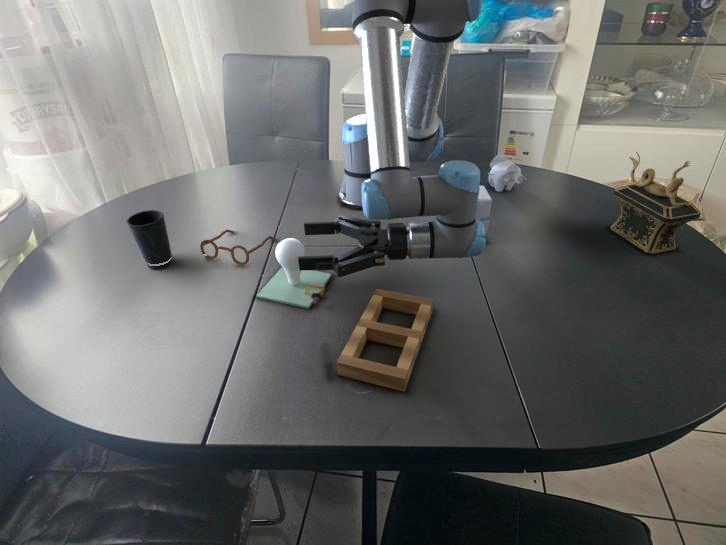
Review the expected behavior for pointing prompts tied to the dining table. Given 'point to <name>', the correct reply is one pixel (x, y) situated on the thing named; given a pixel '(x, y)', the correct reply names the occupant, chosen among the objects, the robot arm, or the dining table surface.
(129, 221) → the cup
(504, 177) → the elephant figurine
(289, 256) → the lightbulb
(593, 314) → the dining table surface
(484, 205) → the ink box
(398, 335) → the holder
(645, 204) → the decorative box
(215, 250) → the glasses
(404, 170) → the robot arm
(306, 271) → the mat
